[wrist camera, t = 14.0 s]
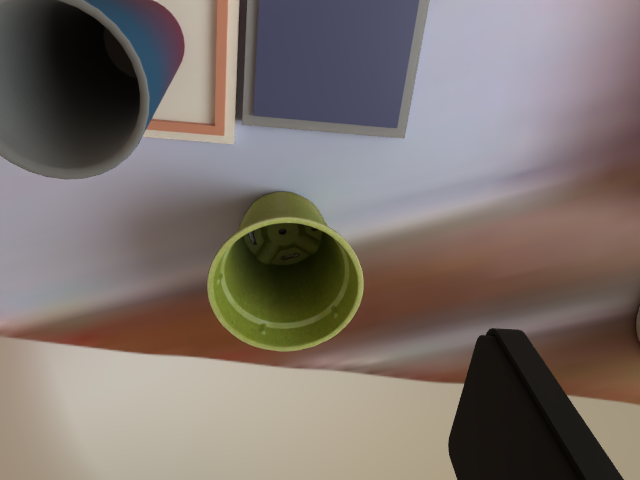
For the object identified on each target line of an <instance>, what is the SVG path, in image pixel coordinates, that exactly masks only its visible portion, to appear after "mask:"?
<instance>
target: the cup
mask: <svg viewBox="0 0 640 480" xmlns="http://www.w3.org/2000/svg"><path fill="white" fill-rule="evenodd" d="M184 49H185V43H184V36H183V33H182V30H181V27H180V25H179V23H178V22H177V20H176V19H175V17H174V16H173V15H172V13H171V12H170V11H168V10H167V9H166V8H165V7H164V6H162V5H161V4H159V3H158V2H156V1H153V0H0V155H1V156H2V157H4V158H5V159H6V160H8V161H9V162H11V163H13V164H15V165H17V166H19V167H21V168H23V169H25V170H27V171H29V172H33V173H36V174H39V175H43V176H46V177H52V178H59V179H83V178H87V177H91V176H96V175H100V174H102V173H104V172H106V171H108V170H110V169H113V168H115V167H116V166H117V165H119V164H120V163H121V162H122V161H124V160H125V159H126V158H128V156H129V155H130V154H131V153H132V152H133V150H134V149H135V148H136V147H137V146H138V144H139V142H140V140H141V138H142V136H143V134H144V132H145V131H146V129H147V127H148V125H149V123H150V121H151V119H152V117H153V115H154V114H155V112H156V110H157V108H158V106H159V104H160V102H161V100H162V99H163V97H164V95H165V93H166V91H167V89H168V87H169V85H170V83H171V82H172V80H173V78H174V76H175V74H176V72H177V70H178V68H179V66H180V64H181V62H182V60H183V56H184Z"/></svg>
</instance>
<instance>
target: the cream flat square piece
mask: <svg viewBox="0 0 640 480" xmlns="http://www.w3.org/2000/svg"><path fill="white" fill-rule="evenodd" d="M153 1H156V2H158V3H159V4H161V5H162V6H164V7H165V8H166V9H167V10H168V11H170V12H171V13H172V15H173V16H174V17H175V19H176V20H177V22H178V23H179V25H180V27H181V30H182V33H183V36H184V43H185V49H184V56H183V60H182V62H181V64H180V66H179V68H178V70H177V72H176V74H175V76H174V78H173V80H172V82H171V83H170V85H169V87H168V89H167V91H166V93H165V95H164V97H163V99H162V100H161V102H160V104H159V106H158V108H157V110H156V112H155V114H154V115H153V117H152V119H151V121H150V123H149V125H148V127H147V129H146V131H145V132H144V134H143V136H142V137H152V138H164V139H176V140H188V141H201V142H213V143H225V144H234V142H235V118H236V90H237V63H238V35H239V7H240V0H153Z"/></svg>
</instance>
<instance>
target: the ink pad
mask: <svg viewBox="0 0 640 480" xmlns="http://www.w3.org/2000/svg"><path fill="white" fill-rule="evenodd" d="M428 6H429V0H247V19H246V43H245V67H244V91H243V114H242V124H243V125H255V126H266V127H278V128H290V129H301V130H313V131H324V132H336V133H348V134H359V135H371V136H382V137H394V138H405V133H406V127H407V122H408V116H409V111H410V105H411V100H412V94H413V89H414V83H415V77H416V72H417V66H418V61H419V55H420V50H421V44H422V39H423V33H424V28H425V22H426V17H427V11H428Z"/></svg>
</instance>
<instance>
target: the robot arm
mask: <svg viewBox="0 0 640 480" xmlns="http://www.w3.org/2000/svg"><path fill="white" fill-rule="evenodd" d="M636 330H637V335H638V339H639V341H640V308H639V311H638V314H637V321H636ZM448 447H449V455H450V459H451V462H452V465H453V468H454V471H455V474H456V477H457V480H624V479H623V478H622V476H621V475H620V473H619V472H618V470H617V469H616V468H615V466H614V465H613V463H612V462H611V460H610V459H609V457H608V456H607V454H606V453H605V451H604V450H603V449H602V447H601V445H600V444H599V442H598V441H597V439H596V438H595V437H594V435H593V434H592V432H591V431H590V429H589V428H588V426H587V425H586V423H585V422H584V420H583V419H582V417H581V416H580V414H579V413H578V411H577V410H576V408H575V407H574V406H573V404H572V403H571V401H570V400H569V398H568V397H567V395H566V394H565V392H564V391H563V389H562V388H561V386H560V385H559V383H558V382H557V380H556V379H555V377H554V376H553V375H552V373H551V372H550V370H549V369H548V367H547V366H546V364H545V363H544V361H543V360H542V358H541V357H540V355H539V354H538V352H537V351H536V349H535V348H534V346H533V345H532V344H531V342H530V341H529V339H528V338H527V336H526V335H525V333H524V332H523V331H521V330H513V329H496V328H492V329H489V331H488V332H487V334H486V335H481V336H479V338H478V339H477V342H476V345H475V349H474V352H473V356H472V359H471V363H470V366H469V370H468V373H467V377H466V380H465V384H464V387H463V391H462V394H461V398H460V401H459V405H458V408H457V412H456V415H455V419H454V422H453V426H452V429H451V433H450V436H449V444H448Z"/></svg>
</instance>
